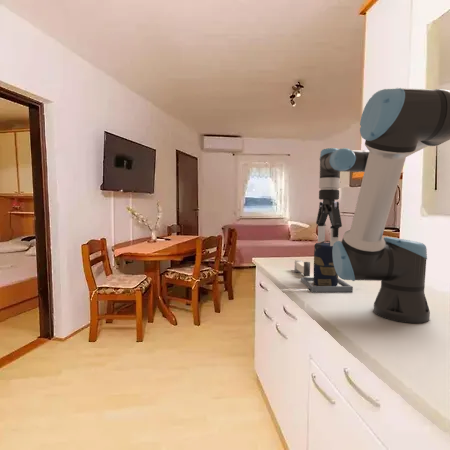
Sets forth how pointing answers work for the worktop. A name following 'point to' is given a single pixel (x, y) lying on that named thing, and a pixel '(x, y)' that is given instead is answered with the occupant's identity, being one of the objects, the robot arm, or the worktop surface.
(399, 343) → the worktop surface
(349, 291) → the tray
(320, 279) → the canister
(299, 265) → the crank
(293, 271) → the crank base
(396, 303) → the robot arm
